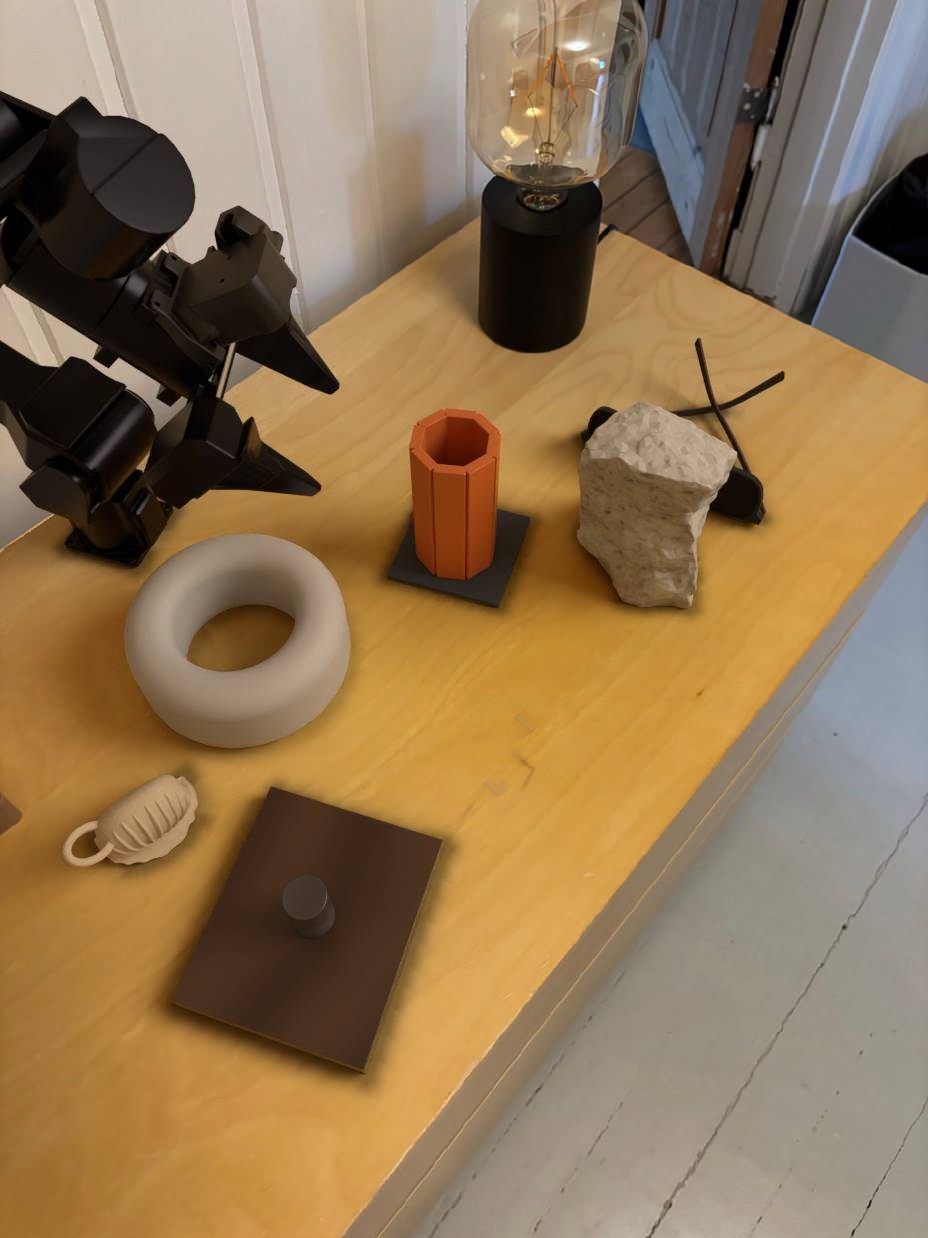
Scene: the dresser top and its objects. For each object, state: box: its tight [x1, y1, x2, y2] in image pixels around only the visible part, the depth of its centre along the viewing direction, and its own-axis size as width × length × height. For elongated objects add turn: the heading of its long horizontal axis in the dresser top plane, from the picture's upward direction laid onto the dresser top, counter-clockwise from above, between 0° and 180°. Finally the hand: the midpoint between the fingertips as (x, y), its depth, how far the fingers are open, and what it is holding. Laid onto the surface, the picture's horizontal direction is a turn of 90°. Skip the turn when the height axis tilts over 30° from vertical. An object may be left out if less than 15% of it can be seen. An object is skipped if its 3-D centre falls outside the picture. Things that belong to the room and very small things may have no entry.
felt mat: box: [386, 508, 531, 609], centre depth 74 cm, size 9×9×1 cm
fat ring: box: [123, 532, 352, 749], centre depth 66 cm, size 15×15×7 cm
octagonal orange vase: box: [408, 407, 502, 580], centre depth 69 cm, size 6×6×12 cm
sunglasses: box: [580, 337, 786, 526], centre depth 79 cm, size 17×14×5 cm
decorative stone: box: [575, 400, 738, 610], centre depth 68 cm, size 10×9×15 cm
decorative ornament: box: [61, 773, 199, 868], centre depth 59 cm, size 4×8×5 cm, turn 129°
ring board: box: [171, 786, 445, 1075], centre depth 56 cm, size 12×14×6 cm
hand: (327, 438), depth 62 cm, fingers open, 9 cm apart
